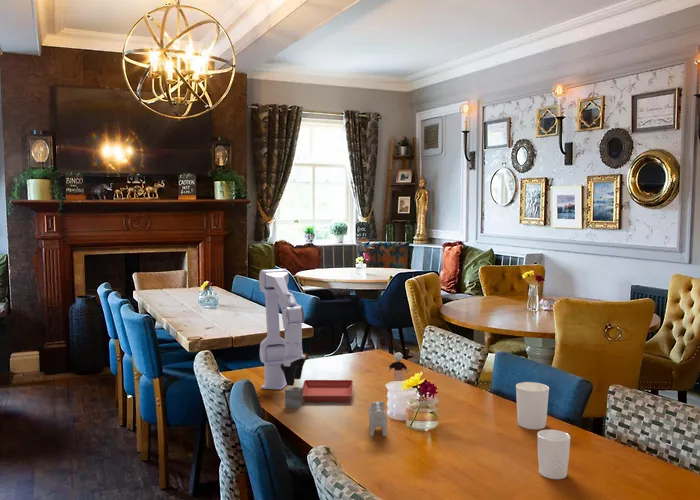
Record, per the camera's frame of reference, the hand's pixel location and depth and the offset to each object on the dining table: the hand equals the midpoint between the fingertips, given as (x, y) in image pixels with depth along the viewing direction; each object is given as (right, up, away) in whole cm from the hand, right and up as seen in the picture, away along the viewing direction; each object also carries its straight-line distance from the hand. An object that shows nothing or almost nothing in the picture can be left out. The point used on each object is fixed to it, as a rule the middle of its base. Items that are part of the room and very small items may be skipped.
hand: (293, 382), depth 211 cm
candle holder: (+75, -10, -18) cm, 77 cm away
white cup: (+70, -12, -53) cm, 89 cm away
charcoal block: (0, -8, +1) cm, 8 cm away
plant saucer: (+11, -8, +13) cm, 18 cm away
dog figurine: (+27, -10, -24) cm, 38 cm away
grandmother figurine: (+37, -7, +23) cm, 44 cm away
